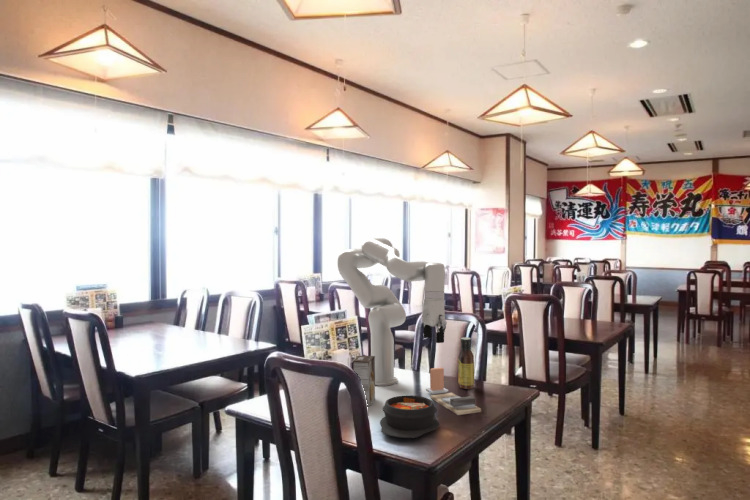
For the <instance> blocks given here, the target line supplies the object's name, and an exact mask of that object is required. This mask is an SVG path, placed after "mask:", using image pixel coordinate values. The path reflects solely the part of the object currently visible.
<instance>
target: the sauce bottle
mask: <svg viewBox="0 0 750 500" xmlns="http://www.w3.org/2000/svg"><path fill="white" fill-rule="evenodd" d="M471 343H472V338H471V337H468V336H467V337H466V336H463V337H461V338H460V345H461V346H460V350H459V351H460V352H459V354H458V358H457V359H458V360H457V364H458V365H457V366H458V367H457V368H458V370H457V371H458V381H457V382H458V387H459V388H460V389H463V390H471V389H474V387H475V360H474V359H475V357H474V353H473V351H472V347H471V346H472V345H471Z"/></svg>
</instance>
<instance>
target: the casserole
mask: <svg viewBox="0 0 750 500" xmlns="http://www.w3.org/2000/svg"><path fill="white" fill-rule="evenodd" d="M433 401H434V400H433V399H431V398H427V397H426V396H419V395H408V394H407V395H398V396H397V395H396V396H392V397H390V398H387V400H386V401H385V403H384V405H383V406H382V412H383V413H384V416H383V417H382V418H381V419H380V420H379V425H380V427H381V431H380V432H381V433H382V434H383V435H386V436H389V437H393V438H398V439H400V438H401V439H416V438H420V437H421V436H423V435H425V434H427V433H430V432H432V431H435V430H436V429H438V428H439V427H440V422H439V420H438V419H437V416H436V413H437V407H436V406H435V404H434V402H433Z"/></svg>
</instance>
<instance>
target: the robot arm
mask: <svg viewBox="0 0 750 500" xmlns="http://www.w3.org/2000/svg"><path fill="white" fill-rule="evenodd" d="M376 264H380V265H382V266H383V267H385V268H386V269H387V271H388V272H389V273H390V275H392V276H394V277H395V278H398V279H399V280H402V281H405V282H408V283H409V282H422V281H424V294H423V296H424V297H423V298H424V299H423V303H422V314H421V317H422V318H421V319H422V320H421V321H422V326H423V338H424V339H429V338H430V339H431V338H432V334H433V332H432V330H433V328H432V327H435V330H436V331H435V343H437V344H443V343H445V332H446V329H447V323H448V322H447V320H446V317H445V316H446V314H445V312H446V311H445V301H444V300H445V275H446V274H445V269H446V268H445V265H444V264H443V263H441V262H427V261H406V260H404V259H403V258H400V251H399V250H398V249H397V248H396V247H394V246H393V243H392V242H391V241H390V240H389V239H387V238H383V237H382V238H381V237H380V238H375V237H373V238H371V237H370V238H368V239H366V240H363V242H362V245H361V247H360V248H349V249H345V250H343V251H342V252H341V253H339V255H338V258H337V269H338V272H339V274H340V276H341V278H342V280H344V281H345V283H346V284H347V285H348V287H349V288H350V289H351V291H352V293H353V294H354V296H355V298H357V300H358V302H359V303H360V305H361V306H362V307H363V308H364V309H371V310H370V311H369V313H368V318H367V319H368V325H369V331H370V356H375V386H378V387H379V386H380V387H381V386H384V387H385V386H391V385H392V386H393V385H395V384H397V383H398V382H399V380H398V377H396V376H395V361H394V360H395V343H394V339H395V338H394V335H393V332H392V329H391V328H395V327H399V326H401V325H403V324H404V323H405V322H406V318H407V313H406V311H405V309H404V307H403V305H402V303H401V302H400V300H399V299H398V297H396V295H395V294H394V292H393V291H392V290H391V289H390V287H388V286H387V285H384V284H378V285H375V284H373V283H372V282H371V281H370V280H369V278H368V277H367V275H365V273H363V272H362V271H361V270H359V269H366V268H370V267H373V266H375V265H376Z"/></svg>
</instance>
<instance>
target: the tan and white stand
mask: <svg viewBox="0 0 750 500" xmlns="http://www.w3.org/2000/svg"><path fill="white" fill-rule="evenodd" d="M444 370H445V369H444V367H434V368H433V367H431V368H430V369H429V379H430V380H429V382H430V383H429V386H430V387H428V388H427V387H426V388H425V391H426V392H427V393H429V394H430V395H438V394H446V393H449V389H447V388H445V386H444V385H445V383H444V381H445V380H444V379H445V377H444V376H445V375H444V374H445V373H444V372H445V371H444Z"/></svg>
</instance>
